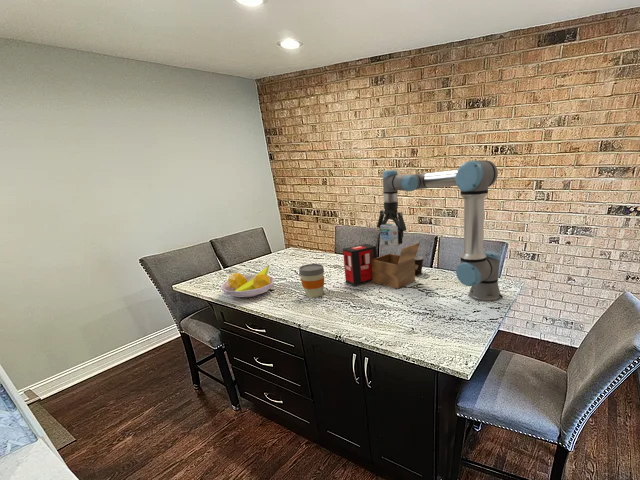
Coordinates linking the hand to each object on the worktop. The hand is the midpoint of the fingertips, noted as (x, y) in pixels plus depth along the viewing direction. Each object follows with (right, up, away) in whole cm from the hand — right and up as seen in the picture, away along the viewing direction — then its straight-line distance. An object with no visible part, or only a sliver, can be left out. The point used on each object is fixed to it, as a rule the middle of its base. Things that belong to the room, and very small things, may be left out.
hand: (391, 242), depth 187 cm
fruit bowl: (-76, -28, -3) cm, 81 cm away
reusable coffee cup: (-41, -29, -8) cm, 51 cm away
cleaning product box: (-18, -21, +11) cm, 30 cm away
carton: (+1, -21, +9) cm, 23 cm away
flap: (+9, -7, -4) cm, 12 cm away
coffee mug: (+13, -16, +22) cm, 30 cm away
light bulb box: (0, -1, 0) cm, 1 cm away
